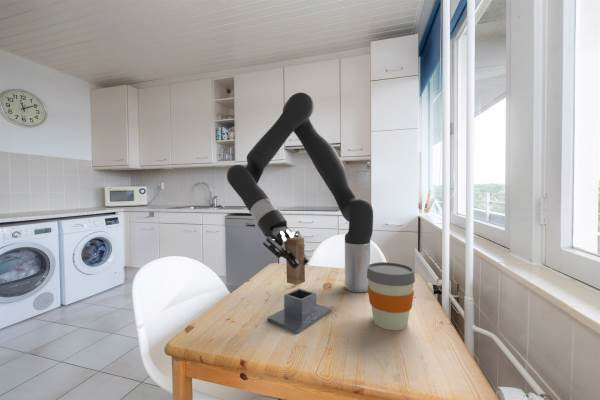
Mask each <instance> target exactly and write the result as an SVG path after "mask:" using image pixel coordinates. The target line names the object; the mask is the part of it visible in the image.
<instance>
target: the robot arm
mask: <svg viewBox="0 0 600 400" xmlns="http://www.w3.org/2000/svg"><path fill="white" fill-rule="evenodd" d="M314 108H315V105H314V101H313V99H312V97H311V96H310V95H309V94H307V93H305V92H296V93H294V94H292V95H291V96H290V97H289V98H288V99H287V100H286V102H285V104H284V105H283V107H282V112H281V114H280V116H279V117H278V118H277V119H276V121H275V122H274V123H273V124H272V126H271V127H270V128H269V129H268V130H267V131H266V132H265V133H264V134H263V136H262V137H261V138H260V139H259V140H258V141H257V143H256V144H255V145H254V146H253V147H252V148H251V149H250V151H249V152H248V153H247V156H246V166H244V165H241V164H235V165H231V167H230V168H228V170H227V173H226V179H227V182H228V184H229V185H230V186H231V188H232V189H233V190H234V192H235V193H236V194H237V196H239V198H240V199H241V200H242V202H243V203H244V206H245V207H246V208H247V210H248V212H249V213H250V214H251V216H252V218H253V221H254V222H255V223H256V225H257V226H258V228H259V229H260V231H261V232H262V234H263V235H264V236H265V238H266V239H265V240H264V241H263V243H262V244H263V246H264V247H265V248H267V250H269V251H270V252H271V253H272V254H273V255H274V256H275V257H276V258H279V259H280V258H283V259H285V261H286V260H287V262H288V263H289V264H290V266H291V267H292V268H293V269H295V268H297V267H298V266H299V262H298V261H297V259H296V258H295V257H294V255H293V254H292V253H291V251H290V249H289V248H288V246H287V245H288V244H287V242H286V239H287V238H291V237H301V238H303V237H302V235H301V232H300V231H299V230H296V231H295V232H294V231H292V230H291V229H290V228H289V227H288V221H287V220H286V218H285V217H284V215H283V214H282V212H281V211H280V210H279V209H278V207H277V206H276V205H275V203H274V202H272V201H271V200H270V198H269V196H268V195H267V194H266V193H265V191H264V189H262V187H260V186H259V185H258V184H259V181H260V180H261V178H262V175H263V173H264V170H265V168H267V166H268V165H269V164H270V163H271V161H272V160H273V158H274V157H275V156H276V155H277V153H278V152H279V151H280V149H281V148H282V146H283V144H285V142H286V141H287V139H288V138H289V137H290V136H291V134H293V133H294V135H296V137H297V138H298V140H299V142H300V143H301V144H302V146H303V148H304V150H305V152H306V153H307V155H308V156H309V158H310V160H311V162H312V163H313V165H314V167H315V169H316V170H317V172H318V174H319V175H320V177H321V179H322V180H323V181H324V184H325V185H326V187H327V189H328V190H329V191H330V193H331V194H332V196H333V198H334V200H335V202H336V205H337V207H338V209H339V211H340V213H341V215H342V217H343V218H344V219H345V220H346V221H347V222H348V231H347V233H345V235H344V288H345V289H346V290H347V291H349V292H353V293H366V292H368V285H369V282H368V278H367V269H368V265H370V264H372V262H371V239H372V236H373V233H374V232H373V227H374V210H373V206H372V204H371V203H370V202H369V201H368V200H367V199H364V198H358V197H357V196H356V195H355V193H354V191H353V190H352V189H351V187H350V185H349V183H348V179H347V173H346V169H345V165H344V163H343V161H342V159H341V157H340V156H339V153H338V152H337V151H336V149H335V148H334V146H333V145H332V144H331V143H330V142H328V141H327V139H325V138H324V137H323V136H321V134H320V133H319V132H318V131H317V130H316V128H315V127H314V124H313V123H312V122H311V119H310V117H311V116H312V115H313V113H314ZM305 246H306V244H305V243H304V248H305ZM304 259H305V266H306V265H307V264H308V263H309V262H310V261H309V258H308V256H307V255H306V254H305V253H304Z"/></svg>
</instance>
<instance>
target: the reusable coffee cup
mask: <svg viewBox="0 0 600 400" xmlns="http://www.w3.org/2000/svg"><path fill="white" fill-rule="evenodd" d="M415 277H416V276H415V270H414V268H413V267H411V266H409V265H406V264H402V263H397V262H387V261H385V262H382V261H381V262H373V263H372V262H371V264H370V265H368V269H367V278H368V282H369V285H368V291H367V292H368V301H369V302H368V303H369V304H370V306H371V312H372V319H373V323H374V324H375V325H376V326H377V327H379V328H382V329H384V330H389V331H403V330H405V329H407V328H408V324H409V320H410V319H409V318H410V311H411V310H412V307H413V302H414V294H415V291H414V290H415V289H414V284H415V282H416V278H415Z"/></svg>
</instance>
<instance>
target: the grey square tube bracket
mask: <svg viewBox="0 0 600 400" xmlns="http://www.w3.org/2000/svg"><path fill="white" fill-rule="evenodd" d="M283 304H284V305H283V307H284V308H283V309H281V310H279V311H277V312H275V313H273V314H271V315H269V316H267V317H266V321H267V323H268V322H269V323H270V324H274V325H275V326H278V327H280V328H282V329H284V330H287V331H289V332H292V333H294V334H295V335H299V334H300V333H301V332H303V331H304V330H306V329H308V328H309V327H311V326H312V325H313V324H316V323H317V322H319V321H320V320H321V319H323V318H324V317H326V316H328V315H329V314H331V313H332V310H333V309H332V308H331V307H328V306H324V305H322V304H318V303H317V293H316V292H313V291H309V290H306V289H304V288H296V289H294V290H292V291H289V292H287V293H285V294H284V295H283Z"/></svg>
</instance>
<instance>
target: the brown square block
mask: <svg viewBox="0 0 600 400" xmlns="http://www.w3.org/2000/svg"><path fill="white" fill-rule="evenodd" d="M301 237H302V236H301ZM301 237H291V238H287V239H286V242H287V244H288V245H287V246H288V248H289V249H290V251H291V253H292V254H293V255H294V257H295V258H296V259H297V261H298V262H299V266H298V267H297V268H295V269H293V268H292V267H291V266H290V264H289V263H288V262H287V260H286V259H285V261H286V262H285V263H286V283H287V284H291V285H296V286H298V285H300V284H303V283H305V282H306V275H305V273H306V270H305V267H306V265H305V259H304V254H305V247H304V244H305V237H302V238H301Z"/></svg>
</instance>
